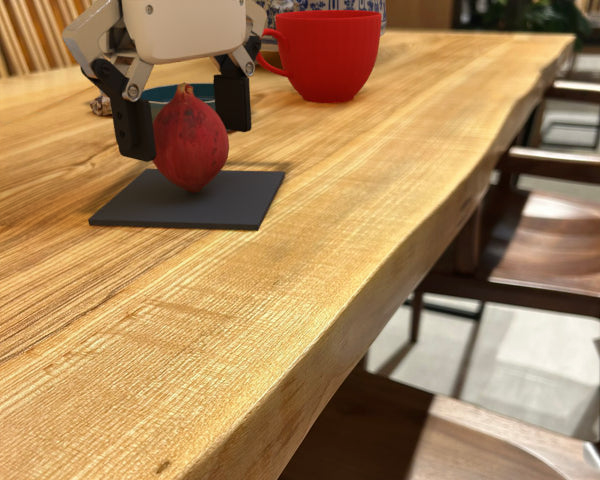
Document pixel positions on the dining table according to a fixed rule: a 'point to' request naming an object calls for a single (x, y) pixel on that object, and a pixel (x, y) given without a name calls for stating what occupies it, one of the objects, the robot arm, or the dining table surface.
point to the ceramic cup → (326, 52)
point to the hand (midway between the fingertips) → (189, 142)
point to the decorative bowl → (276, 3)
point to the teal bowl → (167, 92)
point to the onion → (189, 141)
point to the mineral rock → (101, 105)
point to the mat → (193, 202)
